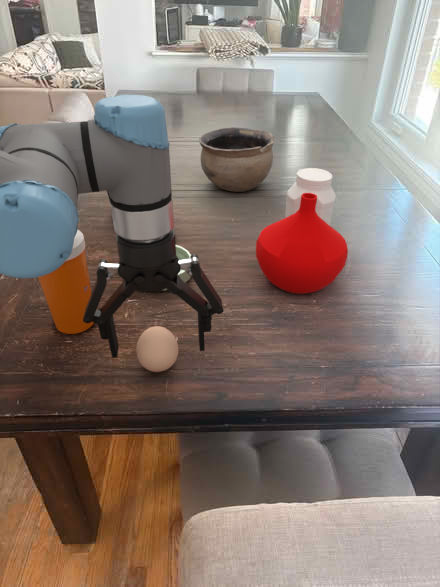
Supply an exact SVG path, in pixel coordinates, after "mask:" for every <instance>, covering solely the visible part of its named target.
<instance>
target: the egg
mask: <svg viewBox="0 0 440 587" xmlns="http://www.w3.org/2000/svg"><path fill="white" fill-rule="evenodd" d="M136 342H137V343H136V348H135V349H136V350H135V351H136V357H137V360H138V362H139V364H140V365H141V366H142V367H143V368H144V369H146V370H147V371H150V372H153V373H161V372H165V371H167V370H169V369H170V368H171V367H172V366H173V365H174V364H175V363H176V361H177V359H178V355H179V344H178V341H177V338H176V336H175V335H174V334H173V333H172V332H171V331H170V330H169V329H167V327H164V326H160V325H155V326H150V327H148V328H146V330H144V331H143V332H142V334H141V335H140V336H139V337H138V340H137V341H136Z"/></svg>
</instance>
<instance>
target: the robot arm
mask: <svg viewBox="0 0 440 587" xmlns="http://www.w3.org/2000/svg"><path fill="white" fill-rule="evenodd" d="M171 175H172V174H171V156H170V141H169V135H168V127H167V118H166V110H165V107H164V105H163V104H162V103H161V102H160V101H159V100H157V99H156V98H154V97H151V96H149V95H143V94H119V95H117V96H116V95H115V96H107V97H103V98H101V99H99V100H98V101H97V102H96V103H95V105H94V114H93V119H88V120H87V121H85V120H84V121H70V122H68V121H67V122H48V123H29V124H28V123H27V124H21V123H20V124H19V123H9V124H7V125H3V126H0V274H1V275H3V276H6V277H10V278H16V279H34V278H38V277H40V276H44V275H47V274H49V273H51V272H53V271H55V270H56V269H58V268H59V267H60V266H61V265H62V264H63V263H64V262H65V261H66V260H67V258H68V257H69V256H70V255H71V252H72V248H73V243H74V237H75V235H76V233H77V230H79V227H78V224H79V222H80V217H79V212H78V199H79V195H81V194H89V193H91V194H93V193H100V192H103V191H105V192H107V191H108V193H109V197H108V200H109V199H110V201H109V205H110V212H111V217H112V223H113V224H112V225H113V229H114V232H115V240H116V248H117V254H118V258H119V262H118V263H113V262H112V263H109V262H108V260H107V259H104V258H101V259H100V260H99V261H98V265H97V269H96V281H95V283H94V286H93V289H92V290H91V296H90V298H89V301H88V304H87V306H86V309H85V313H84V317H83V321H84V322H85V323H91V322H94V323H95V324H96V325H97V326H98V331H99V335H100V339H101V340H103V341H104V340H108V345H109V350H110V354H111V358H112V359H115V358H118V353H119V340H118V336H117V330H116V325H115V320H114V315H115V313H116V312H117V311H118V310H119V309H120V307H121V306H122V305H123V304H124V303H125V301H127V299H128V298H131V297H132V295H133V294H135V292H136V291H138V292H140V294H144V293H145V294H146V293H149V292H156V293H159V292H164V291H163V290H164V289H167V290H166V291H168V292H170V293H171V294H172V295H176V296H177V297H178V298H179V299H181V300H182V301H183V302H184V303H186V304H187V305H188V306H189V307H191V308H192V309H193V310H194V311H196V312H197V328H198V329H197V332H198V346H199V352H205V333H210V332H211V330H212V320H213V317H212V316H213V315H216V314H217V315H221V314H223V313H224V305H223V301H222V298H221V297H220V295H219V294H218V292H217V291H216V289H215V287H214V286H213V284H212V282H211V281H210V280H209V278H208V277H207V275H206V273H205V272H204V270H203V269H202V267H201V263H200V257H199V255H198V254H196V253H192V254H191V256H190V259H184V260H179V259H178V258H177V256H176V245H177V244H176V231H175V228H174V227H175V218H174V203H173V195H172V193H173V192H172V191H173V190H172V176H171ZM108 193H107V194H108ZM180 270H185V271H186V273H187V274H189V275H190V276H191V277H192V279H193V281H194V283H195V285H196V286H197V287H198V289H199V290H200V292H201V293H202V294H203V296H204V297H205V298H204V297H203V296H202V295H200V294H199V292H197V291H196V290H194V289H193V288H192V287H191V286H190V285H189V284H188V283H187V282H184V281H183V280H181V278H180V276H179V275H178V273H179V272H180ZM116 274H118V276H119V277H120V278H121V279H123V280H122V282H121V283H120V285H119V286H118V287H117V288H116V289H115V291H114V292H113V293H112V294H111V296H109V298H108V299H107V300H106V301H105V303H104V304H103V305H102V306H101V307H99V308H98V306H99V305H100V302H101V299H102V297H103V295H104V293H105V290H106V287H107V282H108V281H111V280H112V279H113V278H114V276H115V275H116Z"/></svg>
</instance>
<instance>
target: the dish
mask: <svg viewBox="0 0 440 587" xmlns="http://www.w3.org/2000/svg"><path fill="white" fill-rule="evenodd" d="M191 255H192V254H191V253H190V251H189V250H187V249H186V248H184V247H183V246H182V245H178V244H176V256H177V258H178V259H179V260H184V259H190V256H191ZM178 275H179V276H180V278H181V280H183V281H184V282H185V283H187V282H188V281H189V280H190V279H191V277H192V275H191V276H190V275H189V274H187V273H186V271H185V270H180V272H179V273H178ZM164 291H168V290H167V289H164V290H163V291H162V292H164Z"/></svg>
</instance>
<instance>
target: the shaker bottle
mask: <svg viewBox="0 0 440 587" xmlns="http://www.w3.org/2000/svg"><path fill="white" fill-rule="evenodd" d="M86 246H87V245H86V242H85V236H84V234H83V232H82V231H81V230H79V229H78V230H77V233H76V235H75V237H74V243H73V248H72V252H71V255H70V256H69V257H68V258H67V260H66V261H65V262H64V263H63V264H62V265H61V266H60V267H59V268H58V269H56V270H55V271H53V272H51V273H49V274H47V275H44V276H40V277H37V279H38V281H39V285H40V287H41V290H42V293H43V295H44V298H45V300H46V301H45V302H46V304H47V306H48V309H49V312H50V314H51V317H52V320H53V323H54V325H55V328H56V329H57V331H59V332H60V333H62V334H65V335H75V334H79V333H83V332H85V331H87V330H89V329H90V328H92V326H93V325H94V323H95V322H91V323H85V322H84V321H83V317H84V313H85V309H86V306H87V304H88V301H89V298H90V296H91V293H92V288H91V287H92V286H91V280H90V275H89V268H88V262H87V257H86V256H87V255H86Z"/></svg>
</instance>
